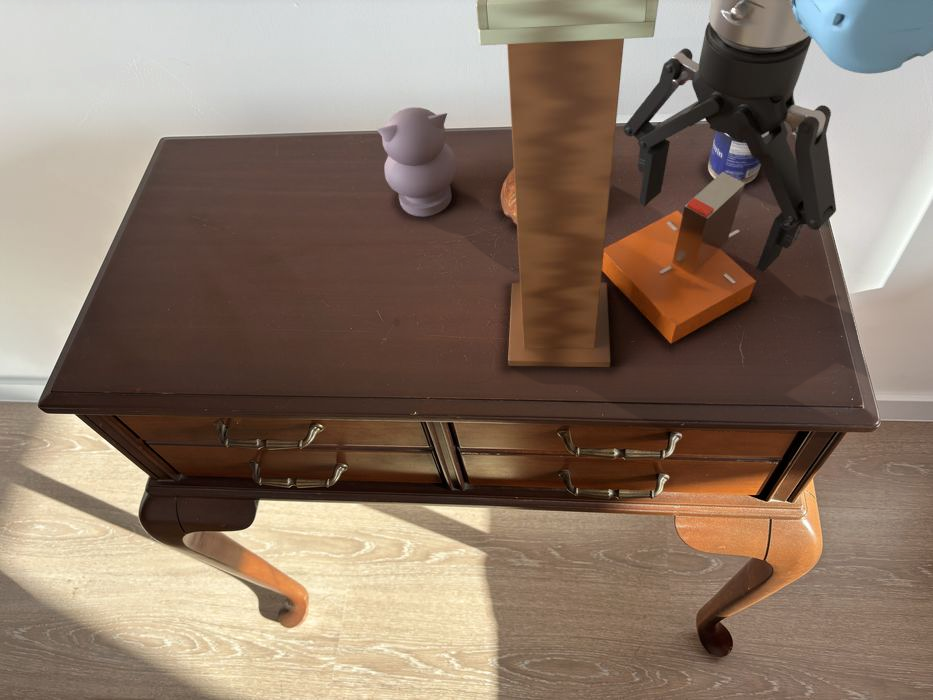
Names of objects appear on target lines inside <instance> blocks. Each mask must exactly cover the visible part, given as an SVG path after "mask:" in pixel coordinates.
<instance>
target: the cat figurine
mask: <svg viewBox="0 0 933 700" xmlns="http://www.w3.org/2000/svg"><path fill="white" fill-rule="evenodd" d="M447 116H448V112H446V113H439V114H437V113H435V112H433V111H431V110H429V109H427V108H423V107H415V106H413V107H407V108H403V109H400V110H398V111H397V112H395V113H394V114H393V115H392V116H391V117H390V118H389V119H388V120H387V121H386V122H385V125H384V127H380V128H376V131H377V132H378V133H379V135H380V136H381V139H382V140H381V141H382V146H383V149H384V151H385V152H386V154H387V157H386V160H385V162H384V166H383V167H384V178H385V180H386V182H387V184H388V186H389V187H390V188H391V190H393V191H394V192H395V193H398V199H399V200H398V201H399V203H400V206H401V208H402V210H403V211H405V212H406V213H407V214H409V215H412V216H414V217H423V218H424V217H429V216H430V217H431V216H434V215H436V214H439V213H441V212H442V211H444V210H446V209H447V207H448V206H449V205H450V203H451V201H452V198H453V196H452V189H451V183H452V182H453V180H454V178H455V175H456V173H457V169H458V165H457V164H458V163H457V158H456V154H455V153H454V152H453V150H452V149H451V147H450V146H449V145H448V144H447V143H446V140H447V135H446V128H445V123H446V120H447Z"/></svg>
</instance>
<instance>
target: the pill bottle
mask: <svg viewBox="0 0 933 700" xmlns="http://www.w3.org/2000/svg"><path fill="white" fill-rule="evenodd" d="M768 134H769V131H768V132H767V133H765V134H763V135H762V138H763V139H765V138H766V137H767V136H768ZM761 167H762V166H761V164H760V162H759V160H758V158H756V157H753V156H752V155H751V153H750V150H749V148H748V146H747V144H746V141H743V142H742V143H741V142H738V141H736V140H734V139H733V138H731V137H730V136H729V135H728V134H726V133H722V132H717V131H715V134H714V137H713V141H712V148H711V151H710V155H709V159H708V165H707V168H708V169H707V170H708V172H709V174H710V176H711V177H712V178H713V180H714V179H715V178H716V177H717V176H719V175H720V174H721V173H722V172H724V173H726V174H728V175H730V176H732V177H734V178H736V179H737V180H739V181H741V182H743V183H745V185H746V184H749V183H750V182H752V181H753V180H755V179H756V178H757V176H758V174H759V171H760V168H761Z"/></svg>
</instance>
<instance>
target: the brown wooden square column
mask: <svg viewBox="0 0 933 700" xmlns="http://www.w3.org/2000/svg"><path fill="white" fill-rule="evenodd" d="M475 7H476V17H477V28H478V40H479V45H480V46H497V45H498V46H499V45H506V47H507V49H506V50H507V66H508V67H507V68H508V84H509V85H508V86H509V105H510V116H511V117H510V121H511V122H510V123H511V139H512V156H513V157H512V158H513V168H514V178H515V197H516V215H517V225H516V228H517V229H516V231H517V232H516V233H517V248H518V251H517V252H518V268H519V269H518V270H519V282H512V283H511V299H510V315H509V316H510V321H509V334H508V335H509V337H508V338H509V339H508V357H507V363H508V366H509V367H567V368H568V367H569V368H570V367H573V368H574V367H575V368H578V367H579V368H589V367H590V368H610V367H611V344H610V343H611V341H610V322H609V301H608V300H609V298H608V282H602V275H603V274H602V273H603V271H602V265H603V255H604V248H605V245H606V244H605V243H606V234H607V233H606V232H607V222H608V211H609V202H610V201H609V200H610V191H611V182H612V181H611V180H612V170H613V161H614V160H613V159H614V150H615V149H614V148H615V138H616V137H615V136H616V127H617V118H618V108H619V107H618V106H619V95H620V85H621V75H622V63H623V55H624V54H623V53H624V43H625V40H626V39H645V38H646V39H647V38H653V37H654V36H655V31H656V22H657V16H658V9H659V0H476V5H475Z"/></svg>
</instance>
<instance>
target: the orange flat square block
mask: <svg viewBox="0 0 933 700" xmlns="http://www.w3.org/2000/svg"><path fill="white" fill-rule="evenodd" d="M682 216H683V213H681V212H680V211H679V210H676V211H674V212H671V213H670V214H668V215H665V216H664V217H662V218H660V219H658V220H656V221H654V222H652V223H651V224H648V225H647V226H644V227H643V228H641V229H638V230H637V231H635V232H633V233H631V234H629V235H627V236H624V237H623V238H622V239H619V240H618V241H616V242H614V243H612V244H610V245H608V246H606V247H604V255H603V265H602V273H603V274H605V276H606V277H607V278H608V279H609V280H610V281H611V282H612V283H613V284H614V285H615V287H616V288H617V289H619V290H620V291H621V292H622V293H623V295H624V296H626V298H627V299H628V300H629V301H630V302H631V303H632V304H633V305H634V306H635V307H636V309H638V311H639V312H640V313H642V315H643V316H644V317H645V318H646V319H647V320H648V321H649V322H650V323H651V324H652V325H653V326H654V328H655V329H656V330H658V332H659V333H660V334H661V335H662V336H663V337H664V338H665V339H666V341H668V343H670V344H673V343H675V342H677V341H679V340H680V339H682V338H684V337H685V336H687V335H689V334H691V333H692V332H694V331H696V330H698V329H699V328H701V327H703V326H705V325H707V324H709V323H710V322H712V321H714V320H715V319H717V318H720V317H721V316H723V315H724V314H726V313H728V312H730V311H731V310H733V309H735V308H736V307H738V306H741V305H742V304H744V303H745V302H747V301H749V300H750V298H751V295H752V293H753V290H754V287H755V286H756V282H757V281H756V279H754V278H753V277H752V276H751V275H750V274H749V273H748V272H746V271H745V270H744V269H743V268H742V267H741V266H740V265H739V264H738V263H736V261H734V260H733V259H732V258H731V257H730V256H729V255H728V254H727V253H726V252H724V251H723V250H722V249H721V248H720V249H719V250H718V251H717V252H716V253H715V254H714V255H713V256H711V257H710V258H709V259H708V260H707V261H706V262H705V263H704V264H703V265H702V266H701V267H700V268H699V269H698V270H697V271H696V272H695V273H694V274H693V275H692V274H690V273H689V272H687V271H685V270H684V269H682V268H680V267H679V266H677V265H675V264H674V263H672V261H673V257H674V252H675V248H676V243H677V239H678V234H679V230H680V225H681V220H682ZM738 234H740V230H739V229H736V230H734V231H732V232H730V234H729V237H728V239H731V238H732V237H734V236H736V235H738Z"/></svg>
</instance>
